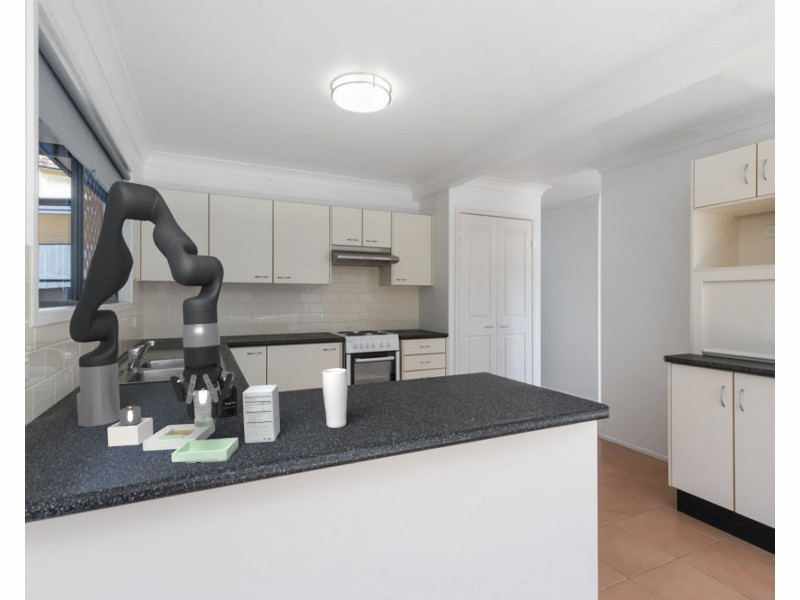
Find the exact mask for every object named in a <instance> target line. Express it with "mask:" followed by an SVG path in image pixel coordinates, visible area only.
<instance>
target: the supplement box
mask: <svg viewBox="0 0 800 600" xmlns="http://www.w3.org/2000/svg"><path fill="white" fill-rule="evenodd" d="M242 408H243V409H242V411H243V427H244V428H243V429H244V431H243V432H244V443H245V444H252V443H253V444H255V443H256V444H257V443H268V442H275V441H276V440H277V438H278V435H279V434H280V432H281V420H280V419H281V418H280V403H279V384H262V385H261V384H260V385H249V386H248V387H247V388H246V389H245V390H244V391H243V392H242Z"/></svg>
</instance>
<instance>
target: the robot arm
mask: <svg viewBox="0 0 800 600" xmlns="http://www.w3.org/2000/svg"><path fill="white" fill-rule="evenodd" d="M104 207H105V208H104V213H103V218H102V224H101V228H100V231H99V236H98V239H97V242H96V245H95V249H94V252H93V254H92V257H91V261H90V264H89V268H88V271H87V274H86V280H85V283H84V286H83V289H82V291H81V294H80V296H79V299H78V301H77V304H76V306H75V308H74V310H73V313H72V314H71V318H70V321H69V335H70V338H71V340H73V341H74V342H76V343H80V344H81V343H82V344H83V343H85V344H86V343H92V342H93V343H96V342H99V344H98V346H97V347H95V348H94V349H93V350H91V351H89V352H87V353H85V354H82V355H81V356H79V358H78V371H79V373H78V374H79V389H80V390H79V392H77V394H76V405H77V425H78V427H84V428H88V427H96V426H102V425H103V426H104V425H107V424H112V423H114V422H117V421H120V410H121V399H120V383H119V381H120V380H119V363H118V361H119V359H118V357H119V328H120V327H119V319H118V316H117V314H116V312H115V311H114V310H112V309H100V307H101V306H103V304H104V303H105V302H107V301H108V300H110V298H111V297H114V296H115V295H116V294H117V293H118V292H120V291H121V290H122V289H123V288H124V287H125V286H126V284H127V283H128V281H129V278H130V275H131V272H132V270H133V266H134V257H133V255H132V253H131V250H130V248H129V247H128V244H127V243H126V240H125V238H124V235H123V227H124V222H126V220H133V221H141V222H150V223H152V224H153V225H154V227H153V232H152V240H153V243H154V245H155V246H156V249H158V250H159V252H160V253H161V254H162V255H163V257H164V258H165V259H166V260H167V263H168V267H169V270H170V272H171V277H172V278H173V280H174V281H175V283H177V284H178V285H181V286H184V287H201V288H200V289H199V293H198V294H197V295H195V296H192V297H188V298H186V299H184V300H183V303H182V323H183V330H182V349H183V367H184V369H183V371H182V373H179V374H174V375H172V376H170V377H169V381H170V384H171V386H172V389H173V390H174V394H175V396H176V399H177V401H178V402H180V403H181V402H182V403H186V407H187V408H186V409H187V412H186V413H187V418H188V419H190V421H194V405H193V392H194V391H195V389H200V388H205V389H208V391H209V393H210V394H211V396H212V399H213V401H214V402H213V403H212V408H213V419H216V420H217V419H219V418H218V417H219V416H220V415H221V413H222V400H223V399H226V398H227V397H229V396H230V393H231V389H232V385H233V382H234V380H235V378H236V373H235V371H228V370H224V369H223V367H222V365H221V364H222V362H221V361H222V359H221V356H222V355H221V336H220V329H219V323H218V321H219V320H218V303H219V302H218V301H219V297H220V292H221V289H222V284H223V281H224V276H225V275H224V273H225V270H224V267H223V264H222V261H220V259H219V258H218V257H216V256H212V255H202V254H201V255H199V254H198V253H199V248H198V246H197V245H196V243H195V242H194V241H193V240H192V238H190V236H189V235H188V234H187V233H186V232H185V231H184V230H183V229H182V228H181V227H180V225H179V224H178V223H177V221H176V218H175V217H174V215H173V213H172V211H171V209H170V208H169V206H168V204H167V202H166V201H165V198H164V197H163V196H162V194H161V193H160V192H159V191H158V190H157V189H156V188H155V187H153V186H150V185H147V184H143V183H142V184H141V183H137V182H136V183H135V182H131V181H130V182H129V181H124V180H117V181H115V182H113V183H111V186H110V188H109V191H108V193H107V197H106V201H105V206H104ZM221 376H223V381H225V383H224V387H223V391H222V394H221V392H220V386H219V384H218V380H219V378H220V377H221ZM185 381H187V383H188V388H187V390H186V387H185V385H184V382H185ZM234 383H235V382H234Z"/></svg>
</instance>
